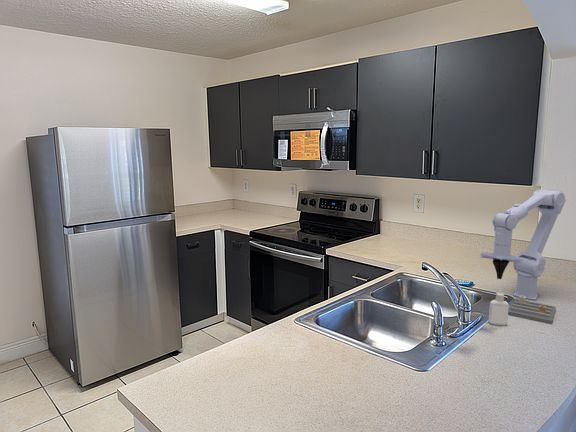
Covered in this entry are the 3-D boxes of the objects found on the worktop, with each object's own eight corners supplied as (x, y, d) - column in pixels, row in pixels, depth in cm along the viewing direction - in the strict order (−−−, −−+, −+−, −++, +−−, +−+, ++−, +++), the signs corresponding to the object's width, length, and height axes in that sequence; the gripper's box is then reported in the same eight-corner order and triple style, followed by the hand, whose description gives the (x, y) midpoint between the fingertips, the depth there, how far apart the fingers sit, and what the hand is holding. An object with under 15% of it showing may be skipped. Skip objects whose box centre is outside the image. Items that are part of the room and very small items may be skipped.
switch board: (513, 301, 160) (513, 296, 160) (555, 309, 152) (556, 304, 151) (506, 314, 147) (506, 308, 147) (551, 324, 139) (552, 318, 139)
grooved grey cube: (519, 301, 155) (520, 294, 155) (525, 302, 154) (526, 295, 154) (518, 303, 154) (519, 295, 153) (524, 304, 153) (525, 297, 152)
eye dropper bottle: (504, 327, 136) (508, 293, 134) (486, 323, 140) (489, 289, 138) (508, 323, 139) (511, 290, 137) (490, 319, 143) (493, 286, 141)
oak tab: (538, 311, 146) (539, 304, 145) (545, 313, 145) (546, 305, 144) (538, 313, 144) (539, 305, 144) (544, 314, 143) (545, 306, 143)
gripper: (479, 243, 158) (477, 277, 160) (522, 249, 149) (519, 284, 151) (483, 240, 163) (481, 273, 165) (525, 245, 155) (521, 279, 157)
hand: (499, 278), depth 159 cm, fingers closed
